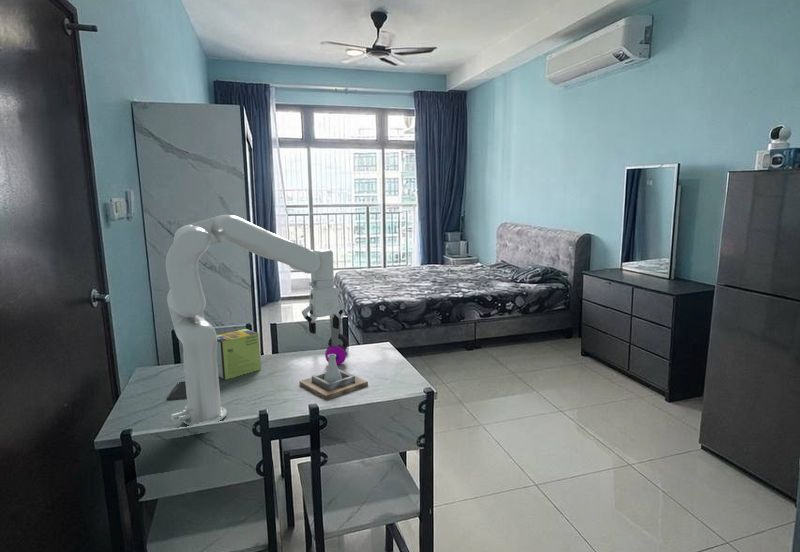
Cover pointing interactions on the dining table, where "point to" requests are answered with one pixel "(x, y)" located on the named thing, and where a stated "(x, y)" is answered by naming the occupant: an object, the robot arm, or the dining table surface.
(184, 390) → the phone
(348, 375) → the holder
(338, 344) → the headphones
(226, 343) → the protein box
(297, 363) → the dining table surface
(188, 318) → the robot arm
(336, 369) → the flask
